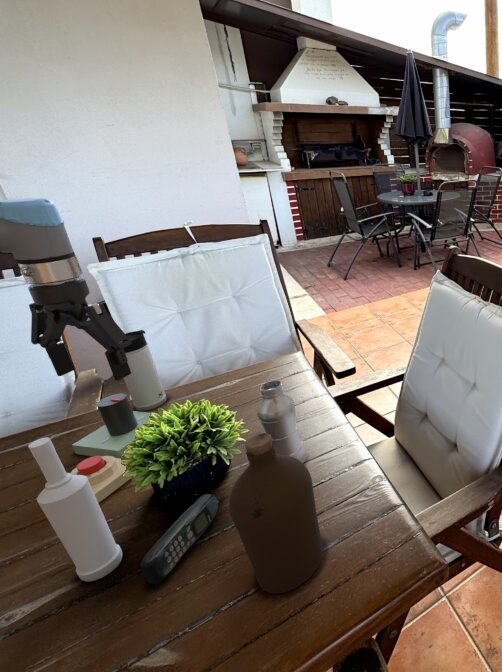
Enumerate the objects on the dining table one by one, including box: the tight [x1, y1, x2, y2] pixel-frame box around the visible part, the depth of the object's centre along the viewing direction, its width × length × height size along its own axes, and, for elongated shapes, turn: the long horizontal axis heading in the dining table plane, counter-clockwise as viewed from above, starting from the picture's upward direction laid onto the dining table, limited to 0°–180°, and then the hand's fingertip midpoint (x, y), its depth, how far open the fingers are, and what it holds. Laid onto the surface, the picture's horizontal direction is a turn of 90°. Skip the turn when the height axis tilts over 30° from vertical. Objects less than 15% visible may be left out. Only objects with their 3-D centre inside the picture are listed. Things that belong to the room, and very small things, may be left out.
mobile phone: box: [140, 493, 220, 585], centre depth 68 cm, size 5×3×15 cm
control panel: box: [71, 410, 152, 459], centre depth 92 cm, size 12×12×3 cm
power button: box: [75, 456, 105, 476], centre depth 78 cm, size 4×4×2 cm
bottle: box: [28, 437, 123, 582], centre depth 60 cm, size 5×5×25 cm
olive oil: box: [228, 432, 324, 595], centre depth 60 cm, size 11×11×25 cm
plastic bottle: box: [256, 379, 307, 464], centre depth 81 cm, size 6×7×20 cm
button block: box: [70, 456, 133, 504], centre depth 79 cm, size 10×9×4 cm
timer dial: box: [96, 393, 138, 436], centre depth 90 cm, size 5×5×8 cm
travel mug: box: [111, 329, 168, 412], centre depth 101 cm, size 6×7×20 cm
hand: (95, 375), depth 84 cm, fingers open, 13 cm apart
